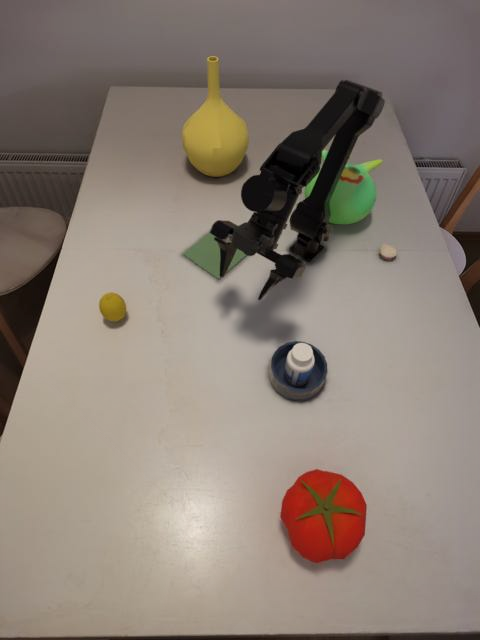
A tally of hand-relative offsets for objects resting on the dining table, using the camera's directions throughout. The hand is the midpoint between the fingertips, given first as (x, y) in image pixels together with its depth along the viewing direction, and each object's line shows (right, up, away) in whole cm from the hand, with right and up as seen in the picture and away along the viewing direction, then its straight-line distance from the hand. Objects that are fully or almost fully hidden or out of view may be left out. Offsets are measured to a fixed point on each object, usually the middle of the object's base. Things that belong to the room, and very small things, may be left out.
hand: (240, 288), depth 84 cm
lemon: (-28, -6, +13) cm, 31 cm away
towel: (-5, +11, +24) cm, 27 cm away
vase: (-7, +39, +42) cm, 58 cm away
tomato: (+13, -41, -9) cm, 44 cm away
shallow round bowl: (+12, -18, +6) cm, 22 cm away
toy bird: (+26, +23, +33) cm, 47 cm away
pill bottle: (+12, -18, +6) cm, 22 cm away
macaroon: (+37, +10, +25) cm, 46 cm away
